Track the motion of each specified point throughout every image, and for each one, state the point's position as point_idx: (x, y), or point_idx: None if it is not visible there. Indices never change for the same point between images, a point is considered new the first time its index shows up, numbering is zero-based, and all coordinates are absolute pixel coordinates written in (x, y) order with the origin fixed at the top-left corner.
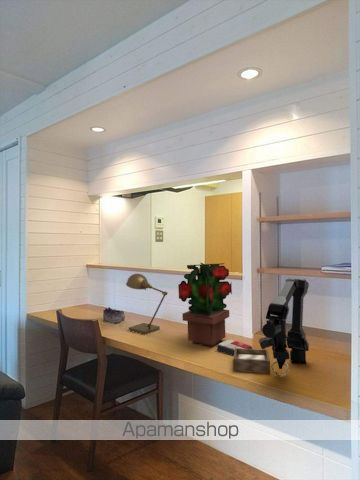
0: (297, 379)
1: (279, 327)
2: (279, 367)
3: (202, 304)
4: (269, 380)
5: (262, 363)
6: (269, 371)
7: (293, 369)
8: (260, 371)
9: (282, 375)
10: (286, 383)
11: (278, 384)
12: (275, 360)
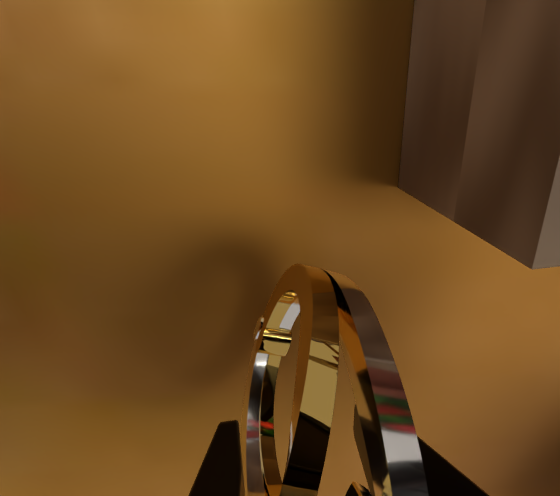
0: None
1: None
2: (209, 456)
3: None
4: (138, 182)
5: (516, 69)
6: (408, 184)
7: (496, 422)
8: (421, 27)
9: (252, 368)
10: (116, 387)
11: (45, 305)
12: (381, 466)
